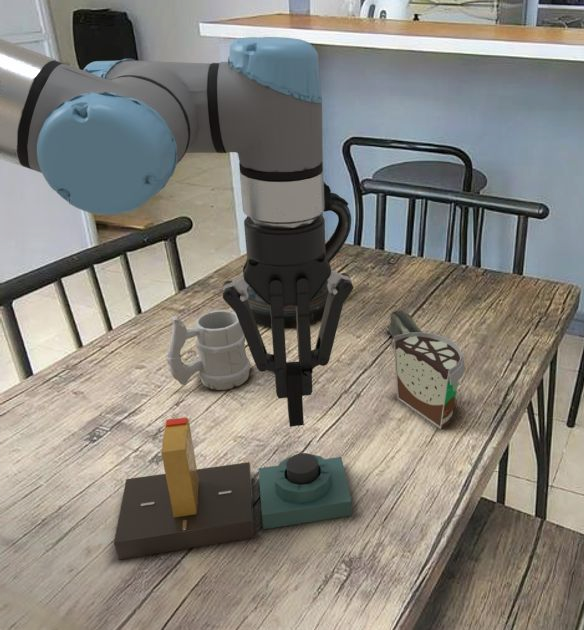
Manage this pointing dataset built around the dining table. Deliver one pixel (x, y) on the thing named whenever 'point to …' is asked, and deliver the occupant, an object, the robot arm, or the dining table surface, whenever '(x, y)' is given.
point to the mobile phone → (401, 324)
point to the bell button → (302, 468)
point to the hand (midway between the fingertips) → (295, 418)
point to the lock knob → (180, 467)
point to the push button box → (304, 495)
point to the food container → (428, 374)
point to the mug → (211, 351)
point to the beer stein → (332, 248)
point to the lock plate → (186, 531)
